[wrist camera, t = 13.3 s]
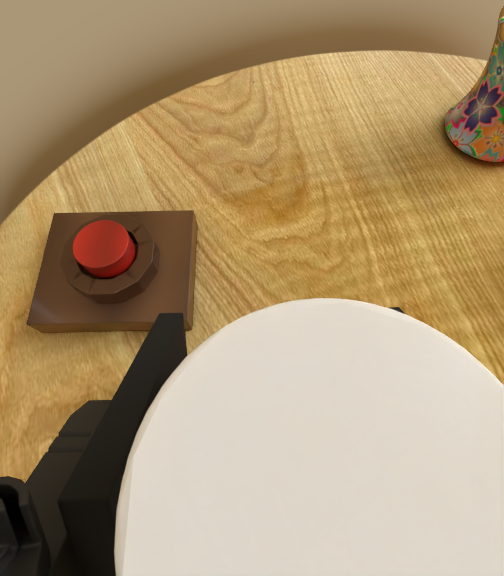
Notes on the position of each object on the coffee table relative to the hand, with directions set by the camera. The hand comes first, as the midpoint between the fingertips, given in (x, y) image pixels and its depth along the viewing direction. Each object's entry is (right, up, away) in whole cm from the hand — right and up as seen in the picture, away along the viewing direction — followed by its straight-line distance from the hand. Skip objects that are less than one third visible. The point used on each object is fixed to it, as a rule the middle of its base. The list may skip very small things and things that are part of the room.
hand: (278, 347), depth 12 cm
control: (-12, +3, +19) cm, 22 cm away
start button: (-12, +4, +15) cm, 20 cm away
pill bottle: (0, -5, +2) cm, 5 cm away
